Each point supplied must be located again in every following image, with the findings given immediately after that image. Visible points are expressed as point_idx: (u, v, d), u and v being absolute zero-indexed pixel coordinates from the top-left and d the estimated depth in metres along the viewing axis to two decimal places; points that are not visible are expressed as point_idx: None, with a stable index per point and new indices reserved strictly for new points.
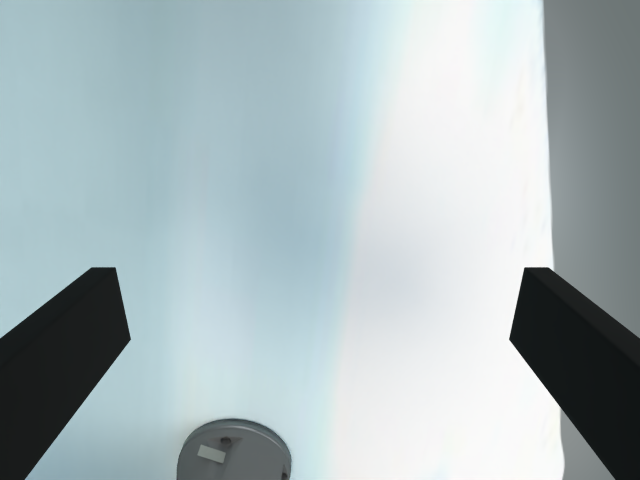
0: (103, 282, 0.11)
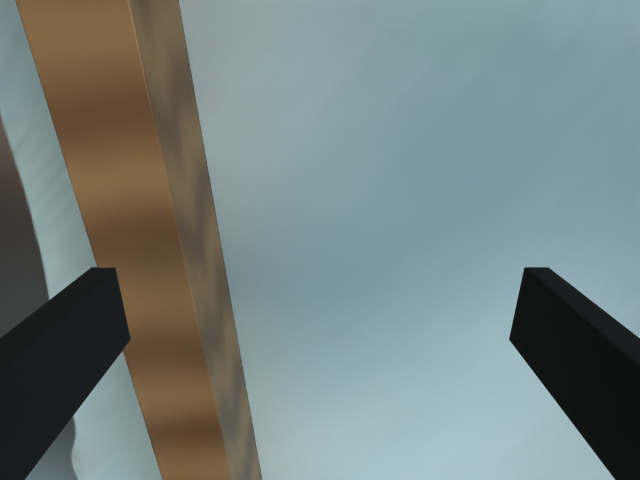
0: (103, 282, 0.11)
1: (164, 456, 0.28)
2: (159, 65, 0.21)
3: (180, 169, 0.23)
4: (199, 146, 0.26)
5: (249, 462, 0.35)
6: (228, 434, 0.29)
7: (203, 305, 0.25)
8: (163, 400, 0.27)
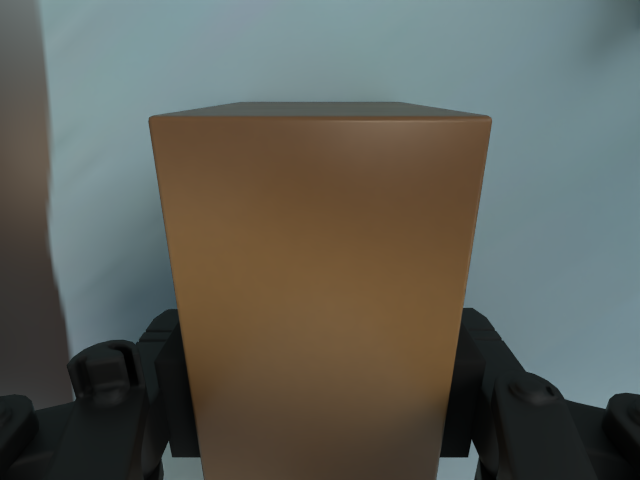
0: None
1: None
2: None
3: None
4: None
5: None
6: None
7: None
8: None
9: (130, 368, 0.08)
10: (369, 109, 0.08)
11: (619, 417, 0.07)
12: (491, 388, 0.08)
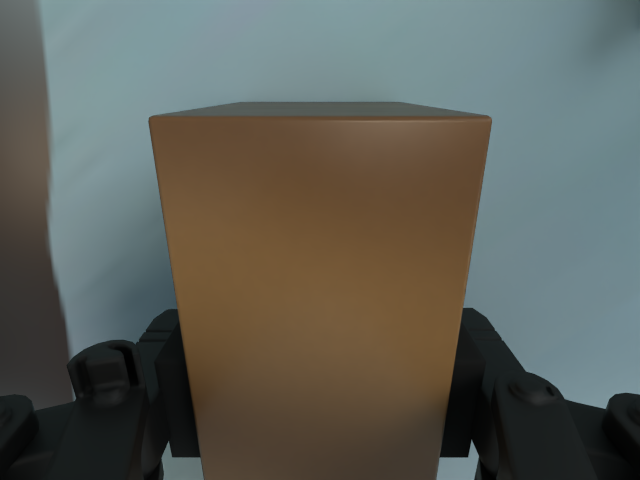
0: None
1: None
2: None
3: None
4: None
5: None
6: None
7: None
8: None
9: (130, 368, 0.08)
10: (369, 109, 0.08)
11: (619, 417, 0.07)
12: (491, 388, 0.08)
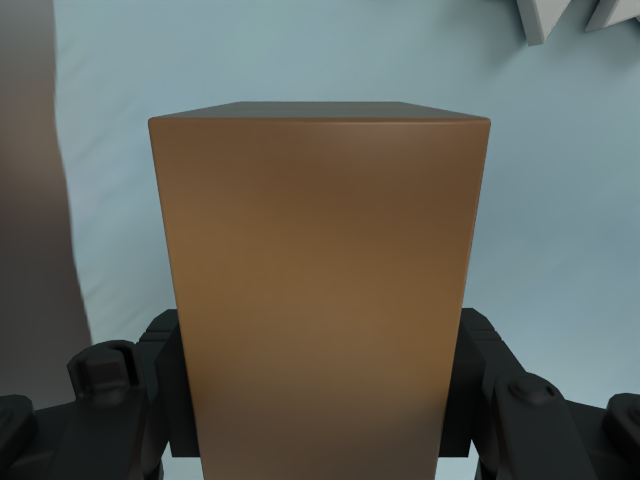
0: None
1: None
2: None
3: None
4: None
5: None
6: None
7: None
8: None
9: (130, 368, 0.08)
10: (368, 110, 0.08)
11: (619, 417, 0.07)
12: (491, 388, 0.08)
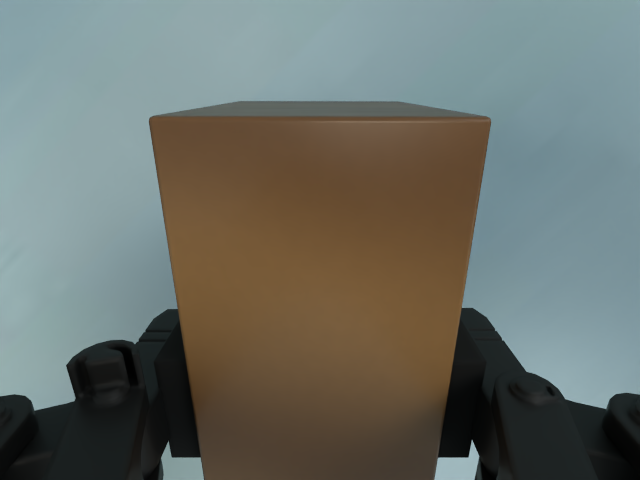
0: None
1: None
2: None
3: None
4: None
5: None
6: None
7: None
8: None
9: (129, 368, 0.08)
10: (369, 109, 0.08)
11: (620, 417, 0.07)
12: (492, 388, 0.08)
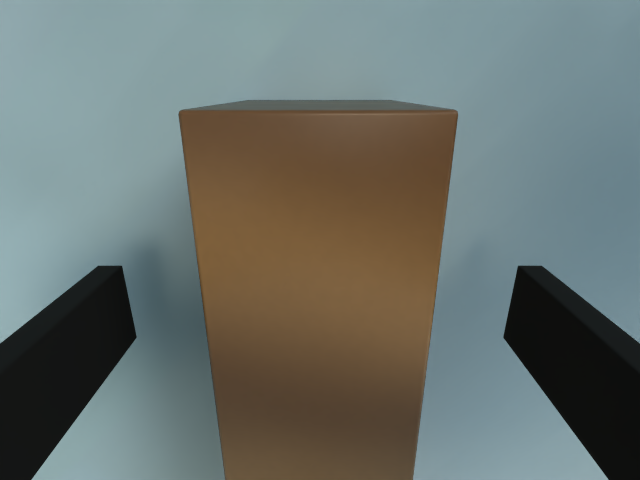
0: (110, 280, 0.12)
1: None
2: None
3: None
4: None
5: None
6: None
7: None
8: None
9: None
10: (360, 105, 0.09)
11: None
12: None
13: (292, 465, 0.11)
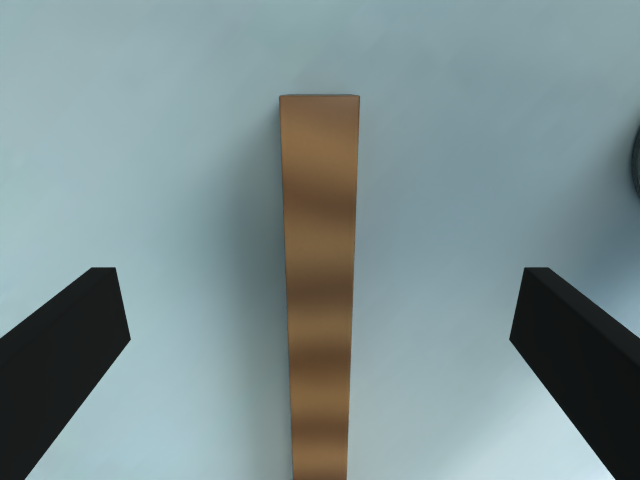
0: (103, 282, 0.11)
1: None
2: None
3: None
4: None
5: None
6: None
7: None
8: (310, 460, 0.38)
9: None
10: None
11: None
12: None
13: (309, 228, 0.29)
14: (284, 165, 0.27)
